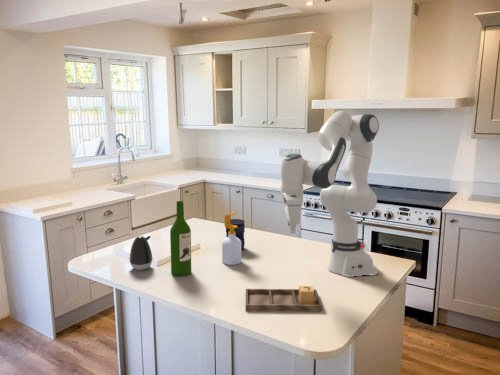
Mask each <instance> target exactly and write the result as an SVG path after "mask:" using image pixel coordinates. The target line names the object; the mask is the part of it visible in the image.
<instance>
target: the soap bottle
mask: <svg viewBox="0 0 500 375" xmlns="http://www.w3.org/2000/svg"><path fill="white" fill-rule="evenodd" d="M235 214H237V211H235V212H230V213H228V214H225V216H224V227H225V228H226V227H227V228H229V229H230V232H228V237H227V238H226V237H225V238H224V239H223V240H222V242H221V244H222V246H221V247H222V250H221V251H222V252H221V253H222V255H221V258H222V259H221V261H222V263H223V264H225V265H228V266H237V265H239V264H241V263H242V251H241V240H240V239H238V238H237V237H236V236H235V232H234V229H235V228H237V227H238V226H235V225H231V224H230V219H231V216H232V215H235Z"/></svg>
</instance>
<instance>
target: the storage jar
mask: <svg viewBox="0 0 500 375" xmlns="http://www.w3.org/2000/svg"><path fill="white" fill-rule="evenodd" d="M230 224H231V225H235V226H238V227H237V228H235V229H234V232H235V236H236V237H237V238H238V239H240V240H241V252H243V251H245V228H246V226H245V220H243V219H239V218H230ZM225 232H226V235H225V236H226V237H225V238H227V237H228V232H230V229H229V228H227V227H225Z"/></svg>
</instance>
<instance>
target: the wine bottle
mask: <svg viewBox="0 0 500 375" xmlns="http://www.w3.org/2000/svg"><path fill="white" fill-rule="evenodd" d="M184 213H185V212H184V201H183V200H182V201H181V200H179V201H176V219H175V221H174V223H172V226H171V227H170V231H169V233H170V237H169V240H170V273H171V275H172V276H173V277H180V278H181V277H186V276H189V275H190V274H191V275H192V236H191V233H192V231H191V228H190V226H189V224H188V222H187V221H186V219H185V215H184Z"/></svg>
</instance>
